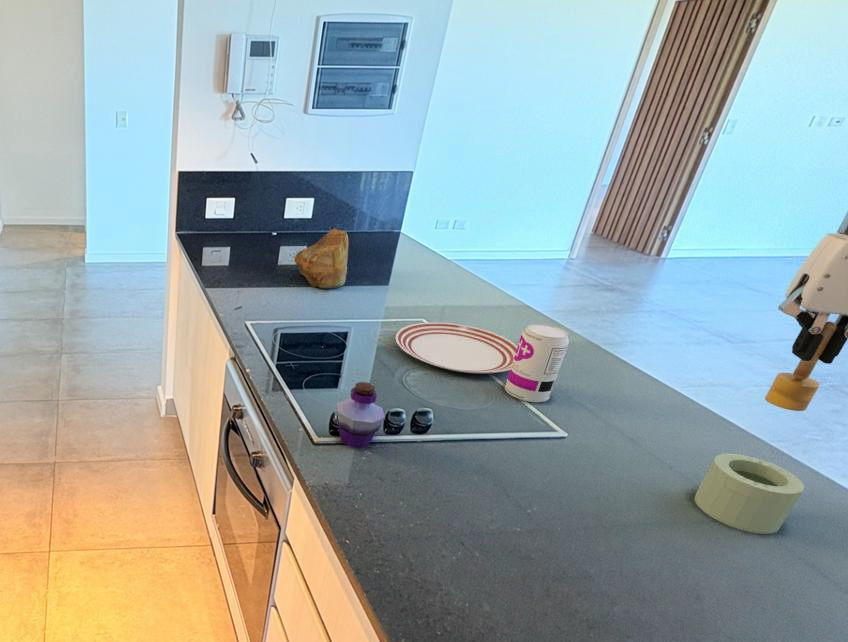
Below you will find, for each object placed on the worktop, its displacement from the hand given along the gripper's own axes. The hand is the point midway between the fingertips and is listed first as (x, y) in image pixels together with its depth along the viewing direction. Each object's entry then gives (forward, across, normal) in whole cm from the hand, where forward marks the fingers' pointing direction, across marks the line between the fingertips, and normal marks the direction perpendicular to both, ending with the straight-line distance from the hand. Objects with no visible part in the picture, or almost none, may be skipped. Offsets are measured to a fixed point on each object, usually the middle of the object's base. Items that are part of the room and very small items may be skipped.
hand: (810, 357), depth 87 cm
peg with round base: (+8, 0, 0) cm, 8 cm away
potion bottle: (+27, +57, +2) cm, 63 cm away
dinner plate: (+27, +36, -45) cm, 63 cm away
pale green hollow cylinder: (+26, 0, +2) cm, 26 cm away
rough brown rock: (+27, +71, -93) cm, 120 cm away
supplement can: (+27, +23, -29) cm, 46 cm away
